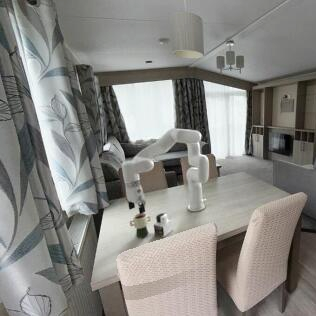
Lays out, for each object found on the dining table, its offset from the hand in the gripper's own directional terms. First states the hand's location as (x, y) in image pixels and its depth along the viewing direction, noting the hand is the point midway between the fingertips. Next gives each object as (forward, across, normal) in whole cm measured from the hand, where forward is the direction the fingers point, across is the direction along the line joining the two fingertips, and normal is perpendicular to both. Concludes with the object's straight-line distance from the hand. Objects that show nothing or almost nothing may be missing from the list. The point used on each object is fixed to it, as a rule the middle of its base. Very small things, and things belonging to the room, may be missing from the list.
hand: (137, 210), depth 113 cm
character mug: (+17, 0, -1) cm, 17 cm away
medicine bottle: (+17, -9, -9) cm, 21 cm away
